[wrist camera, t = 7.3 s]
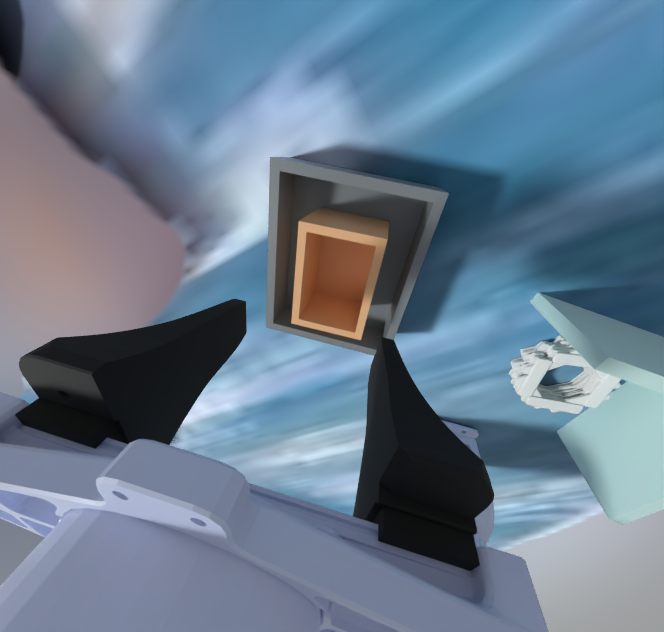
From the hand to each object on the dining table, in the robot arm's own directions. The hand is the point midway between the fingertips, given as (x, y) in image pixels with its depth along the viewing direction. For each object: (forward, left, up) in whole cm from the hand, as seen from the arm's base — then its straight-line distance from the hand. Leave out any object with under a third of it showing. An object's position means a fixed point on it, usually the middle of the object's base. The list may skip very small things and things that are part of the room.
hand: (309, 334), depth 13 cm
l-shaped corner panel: (-20, +5, -10) cm, 23 cm away
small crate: (0, -1, -9) cm, 9 cm away
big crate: (0, -1, -9) cm, 9 cm away
